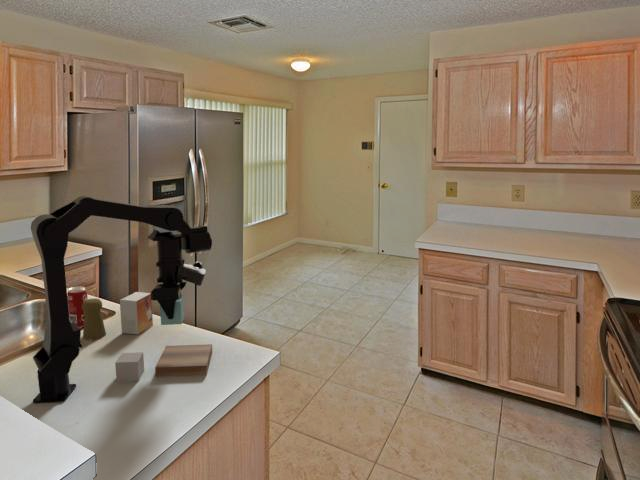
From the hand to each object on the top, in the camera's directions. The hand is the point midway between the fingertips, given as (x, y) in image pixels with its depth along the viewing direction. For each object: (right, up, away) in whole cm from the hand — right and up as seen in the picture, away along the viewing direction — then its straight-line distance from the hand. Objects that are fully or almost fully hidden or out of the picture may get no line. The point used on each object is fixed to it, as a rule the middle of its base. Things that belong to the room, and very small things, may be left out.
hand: (172, 315), depth 112 cm
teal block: (0, -2, 0) cm, 2 cm away
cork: (-28, -9, +15) cm, 33 cm away
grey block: (-8, -14, -7) cm, 17 cm away
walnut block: (+3, -13, 0) cm, 13 cm away
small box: (-18, -8, +21) cm, 28 cm away
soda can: (-36, -7, +22) cm, 43 cm away
